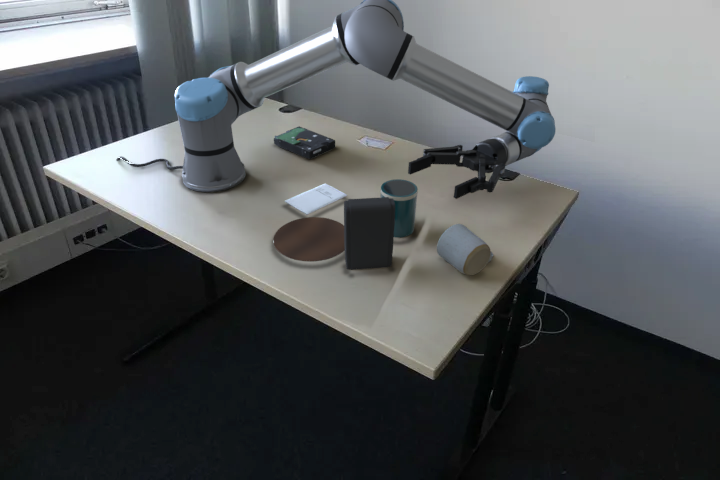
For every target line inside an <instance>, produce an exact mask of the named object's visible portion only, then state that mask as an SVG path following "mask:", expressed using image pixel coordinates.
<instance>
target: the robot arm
mask: <svg viewBox="0 0 720 480" xmlns="http://www.w3.org/2000/svg"><path fill="white" fill-rule="evenodd" d="M404 24H405V21H404V15H403V13H402V10H401V9H400V7H399V6H398V4H397V3H396V2H394V0H363V1H361V2H360V4H358V5H356V6H354V7H352V8H350V9H348V10H346V11H343V12H341V13H339V14H338V15H335V17H334V20H333V23H332V25H331V26H328V27H326V28H324V29H322V30H320V31H318V32H316V33H313V34H311V35H309V36H307V37H304V38H303V39H301V40H299V41H297V42H294V43H292V44H290V45H288V46H287V47H283V48H282V49H280V50H277V51H275V52H273V53H271V54H269V55H267V56H264V57H263V58H261V59H258V60H256V61H254V62H252V63H250V64H248V63H247V62H244V61H238V62H236V63H234V64H232V65H227V66H223V67H220V68H218V69H216V70H215V71H213V72H212V73H211V74H210V75H209V76H208V77H198V78H197V77H196V78H193V79H192V80H187V81H185V82H183V83H181V84H180V85H178V87H177V88H176V90H175V91H174V102H175V103H174V107H175V112H176V114H177V119H178V125H179V129H180V134H181V139H182V144H183V150H184V158H183V164H182V165H175V166H171V165H170V162H169V160H168V159H166V158H156V159H153V160H150V161H147V162H144V163H134V164H129V163H127V165H129V166H131V167H133V168H143V167H147V166H150V165H153V164H155V163H160V162H162V163H163V162H164V163H165V165H166V168H167V169H168V170H181V169H182V171H181V178H182V183H183V185H184V186H185V187H186V188H187V189H190V190H192V191H196V192H201V193H215V192H221V191H225V190H229V189H233V188H235V187H236V186H238V185H240V184H242V182H243V181H244V180H245V178H246V166H245V163H244V162H243V161H242V160H241V158H240V156H239V154H238V151H237V150H236V147H235V142H234V135H233V128H232V125H233V124H234V123H235V122H236V120H237V119H238V118H240V117H241V116H242V115H244V114H247V113H249V112H251V111H254V110H255V109H258V108H261V107H262V106H263V104H264V102H265V98H267V97H270V96H272V95H274V94H277V93H279V92H281V91H284V90H286V89H288V88H291V87H293V86H295V85H298V84H299V83H302V82H305V81H306V80H309V79H311V78H313V77H315V76H318V75H320V74H323V73H325V72H327V71H330V70H332V69H334V68H336V67H338V66H341V65H343V64H346V63H349V64H351V65H353V66H358V65H361V66H362V67H364V68H366V69H368V70H370V71H372V72H374V73H376V74H378V75H380V76H382V77H384V78H387V79H389V80H391V81H393V82H395V81H397V80H401V81H405V82H406V83H408V84H410V85H412V86H414V87H416V88H419V89H420V90H423V91H425V92H427V93H428V94H431V95H433V96H434V97H437V98H438V99H441V100H443V101H445V102H447V103H449V104H451V105H453V106H455V107H457V108H459V109H460V110H461V109H462V110H464V111H465V112H468V113H470V114H472V115H474V116H476V117H478V118H480V119H482V120H484V121H486V122H488V123H490V124H492V125H494V126H496V127H498V128H500V129H503V130H504V131H505V132H503V133H500V134H497V135H495V136H492V137H490V138H487V139H485V140H482V141H480V142H478V143H477V144H475V145H474V146H473V148H472V149H467V150H465V149H463V147H464V146H463V145H462V144H457V145H454V146H444V147H433V148H423V151H422V156H421V157H417V158H416V159H414V160H411V161H409V162H408V170H407V174H408V175H413V174H416V173H418V172H420V171H424V170H425V169H428V168H431V167H432V165H445V166H448V165H449V166H450V165H451V166H456V167H458V168H466V169H469V170H470V171H473V172H477V176H475V177H472V178H470V179H467V180H465V181H464V182H461V183H458V184H457V185H454V190H453V198H454V199H456V200H457V199H459V198H462V197H463V196H467V195H468V194H474V193H476V192H478V191H484V190H486V192H487V193H489V194H491V193H493V192H494V190H495V188H496V186H497V184H498V182H499V179H500V178H502V177H503V176H504V175H505V171H506V167H507V166H509V165H511V164H513V163H516V162H519V161H520V160H521V161H522V160H523V159H526V158H529V157H532V156H533V155H534V154H536V153H537V152H539V151H541V150H542V148H544V147H546V146H548V145H549V144H551V142H552V141H553V140H554V137H555V134H556V121H555V118H554V116H553V115H552V113H551V110H550V108H549V105H548V102H547V99H548V96H549V88H550V82H549V81H548V80H547V79H546V78H543V77H539V76H531V75H528V76H527V75H526V76H521V77H519V78H518V79H516V81H515V84H514V88H513V91H512V90H510V89H508V88H505V87H504V86H502V85H500V84H497V83H496V82H494V81H492V80H489V79H488V78H486V77H484V76H482V75H480V74H478V73H476V72H474V71H472V70H470V69H468V68H466V67H463V65H460V64H458V63H456V62H454V61H452V60H450V59H448V58H446V57H444V56H442V55H440V54H438V53H436V52H434V51H432V50H430V49H428V48H426V47H424V46H422V45H420V44H418V43H417V41H416V39H415V36H414V35H412V34H410V33H408V32H406V31H405V30H404V28H405V25H404ZM119 157H120V158H122V159H123V160H122V159H120V158H118V157H117V158H116V160H115V161H116V162H118V161H120V160H122V161H124V160H125V161H128V162H129V161H130V160H129V159H127V158H126V157H125V156H122V155H121V156H119ZM461 157H462V158H461ZM461 159H462V161H461ZM125 161H124V162H125ZM486 174H491V175H490V177H489V179H488V180H486V179H487V175H486Z"/></svg>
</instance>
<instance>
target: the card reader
mask: <svg viewBox="0 0 720 480" xmlns="http://www.w3.org/2000/svg"><path fill="white" fill-rule="evenodd" d="M380 197H381V196H380ZM380 197H366V198H365V197H363V198H362V197H361V198H349V199H347V200H344V201H343V225H344V246H345V251H344V262H345V268H346V270H351V271H353V270H356V271H357V270H369V269H383V268H390V267H392V262H393V254H394V242H395V241H394V239H395V237H394V224H395V202H394V200H393V198H389V197H381V198H380Z"/></svg>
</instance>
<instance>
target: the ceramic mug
mask: <svg viewBox="0 0 720 480" xmlns="http://www.w3.org/2000/svg"><path fill="white" fill-rule="evenodd" d="M436 244H437V245H436V253H437V255H438V256H439V257H440V258H441V259H443V260H444V261H446V262H447V263H448V264H449V265H451V266H452V267H454V268H455V269H456V270H458V271H459V272H460V273H462V274H463V275H466V276H474V275H477V274H478V273H480V272H481V271H482V270H484V268H485V267H486V266H487V265H488V263H490V262H491V261H492V259H493V257H494V253H493V252H492V251H491V247H490V246H489V244H488V243H487V242H486V241H485V240H483V239H482V238H481V237H479V236H478V235H477V234H475V233H474V232H473V231H472V230H470V229H469V228H468V227H467V226H466V225H464V224H463V223H456V224H452V225H450V226H448V228H446V229H445V231H444V232H442V234H441V235H440V237H439V239H438V241H437V243H436Z"/></svg>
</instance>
